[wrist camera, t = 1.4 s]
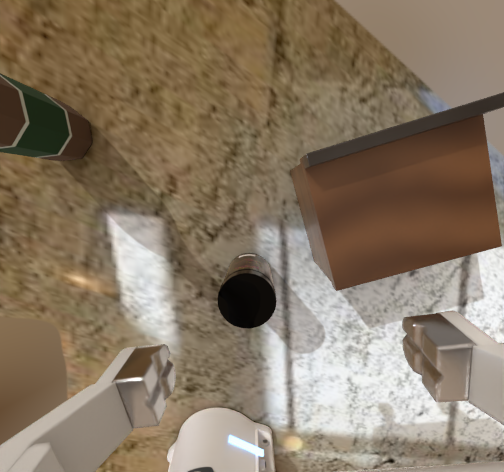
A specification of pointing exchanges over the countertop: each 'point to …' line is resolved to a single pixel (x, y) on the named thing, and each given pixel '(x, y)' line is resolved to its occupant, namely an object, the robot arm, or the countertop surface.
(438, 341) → the robot arm
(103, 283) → the countertop surface
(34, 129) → the beer bottle
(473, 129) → the wooden stand
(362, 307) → the countertop surface
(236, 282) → the supplement container
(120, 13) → the countertop surface
